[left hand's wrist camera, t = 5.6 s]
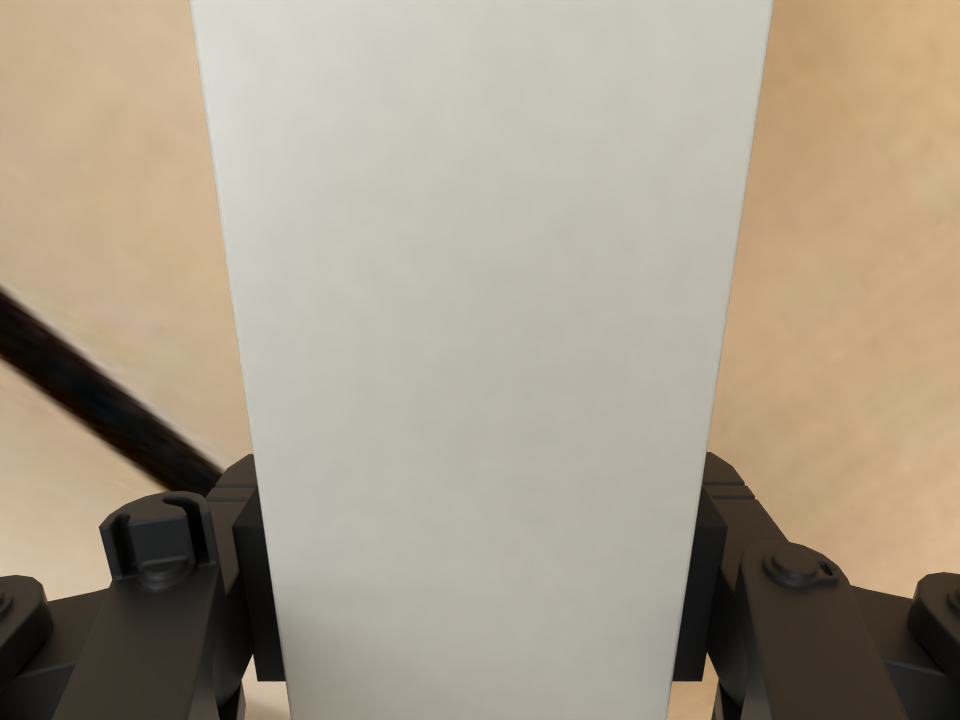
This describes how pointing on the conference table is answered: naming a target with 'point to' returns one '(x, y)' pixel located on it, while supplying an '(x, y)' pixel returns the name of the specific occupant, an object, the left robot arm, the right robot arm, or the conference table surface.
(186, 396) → the conference table surface
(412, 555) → the post
